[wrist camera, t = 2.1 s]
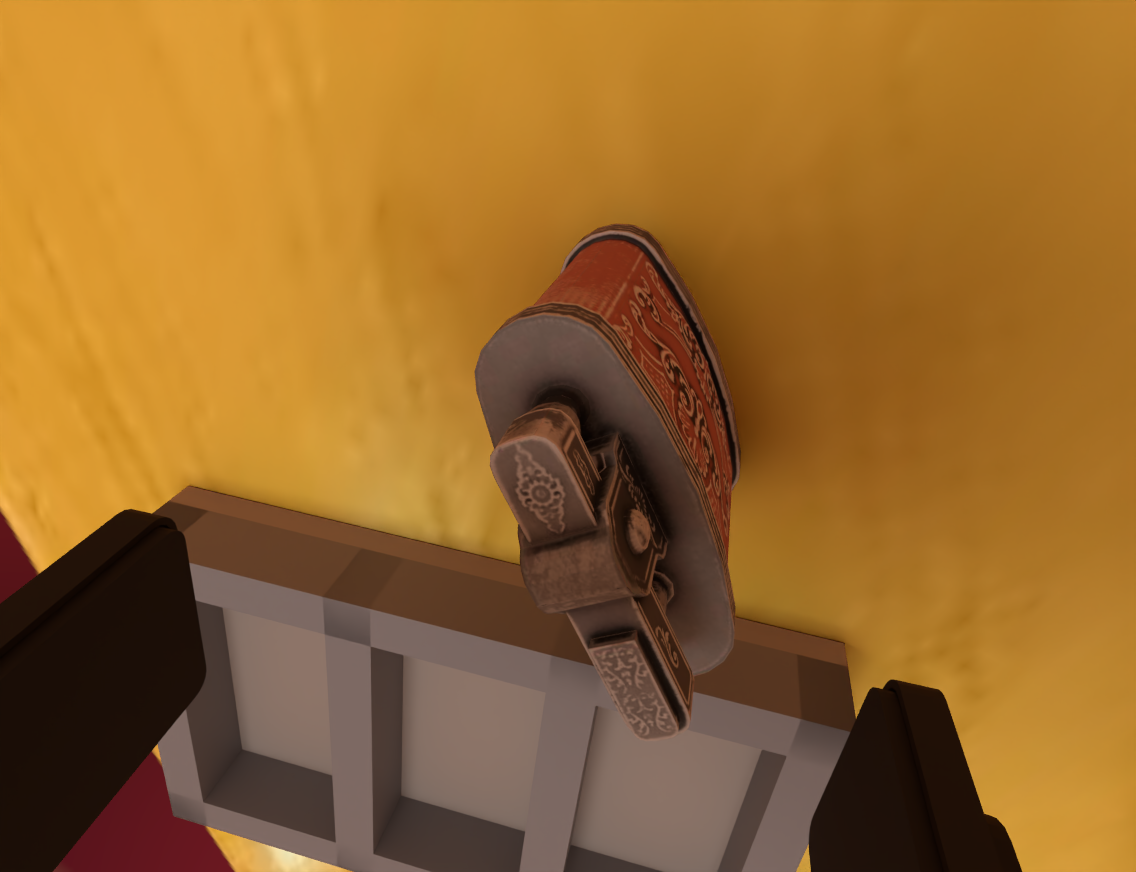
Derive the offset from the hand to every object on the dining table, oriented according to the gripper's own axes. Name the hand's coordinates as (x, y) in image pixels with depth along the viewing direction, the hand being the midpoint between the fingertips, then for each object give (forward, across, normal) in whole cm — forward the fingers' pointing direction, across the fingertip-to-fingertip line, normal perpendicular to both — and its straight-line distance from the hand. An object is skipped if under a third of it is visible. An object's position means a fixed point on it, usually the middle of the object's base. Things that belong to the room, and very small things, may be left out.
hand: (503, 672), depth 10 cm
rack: (+12, +3, +15) cm, 19 cm away
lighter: (+12, -1, 0) cm, 12 cm away
